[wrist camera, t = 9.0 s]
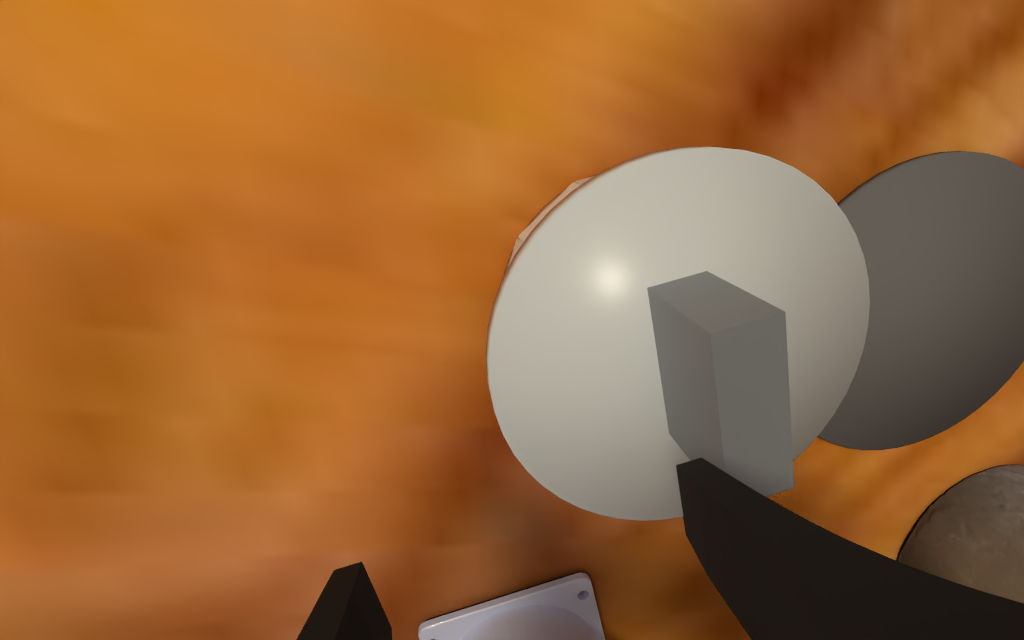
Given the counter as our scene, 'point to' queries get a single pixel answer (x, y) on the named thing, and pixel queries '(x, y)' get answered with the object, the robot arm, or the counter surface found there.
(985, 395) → the mat
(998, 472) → the pillar candle
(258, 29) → the counter surface
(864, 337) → the lid
